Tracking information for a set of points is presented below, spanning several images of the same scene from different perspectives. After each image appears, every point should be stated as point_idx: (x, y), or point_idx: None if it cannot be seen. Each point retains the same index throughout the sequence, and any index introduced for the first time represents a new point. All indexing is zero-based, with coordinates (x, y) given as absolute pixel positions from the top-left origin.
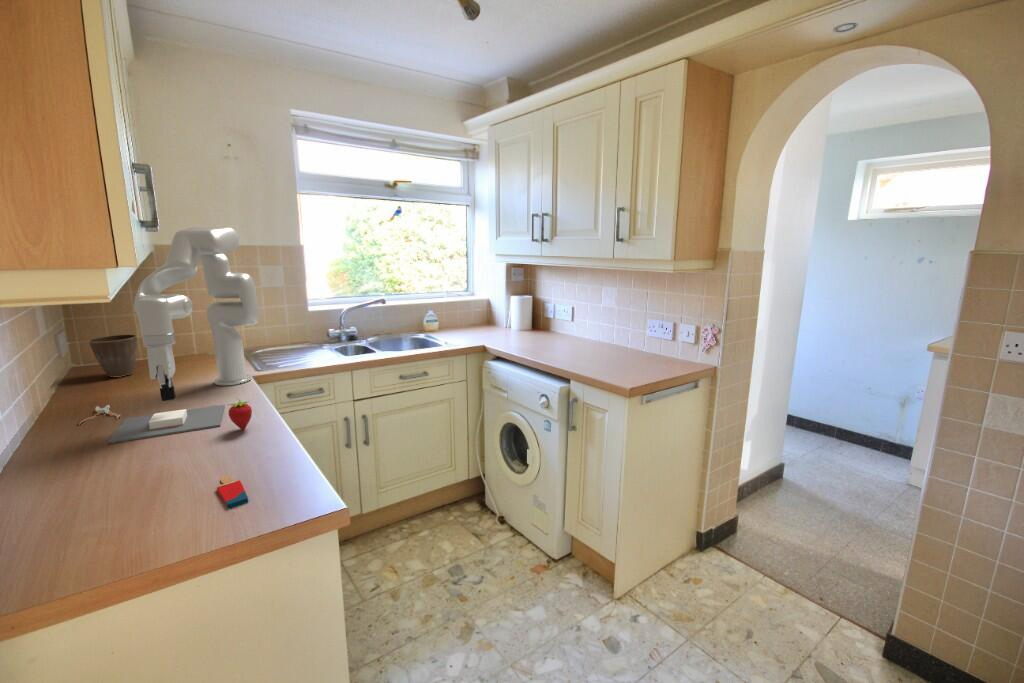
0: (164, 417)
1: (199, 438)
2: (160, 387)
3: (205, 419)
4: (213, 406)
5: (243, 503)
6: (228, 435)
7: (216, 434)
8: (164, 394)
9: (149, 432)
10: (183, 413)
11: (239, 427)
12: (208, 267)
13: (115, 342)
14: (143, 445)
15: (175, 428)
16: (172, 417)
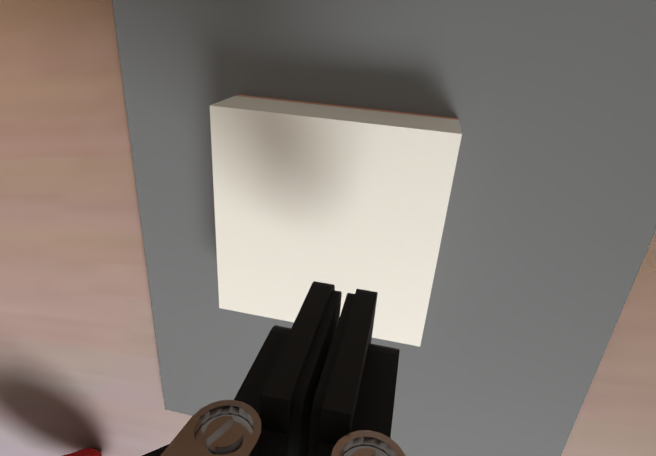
0: (278, 210)
1: (43, 313)
2: (195, 421)
3: None
4: (549, 451)
5: None
6: (46, 401)
7: (72, 371)
8: (259, 359)
9: (187, 95)
10: None
11: (68, 454)
12: None
13: None
14: (14, 74)
15: (197, 237)
16: (249, 257)
